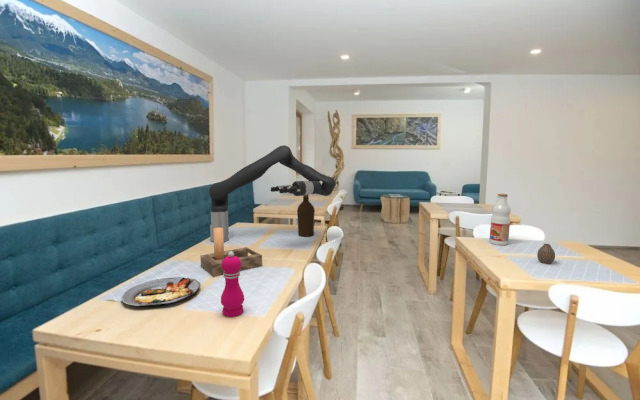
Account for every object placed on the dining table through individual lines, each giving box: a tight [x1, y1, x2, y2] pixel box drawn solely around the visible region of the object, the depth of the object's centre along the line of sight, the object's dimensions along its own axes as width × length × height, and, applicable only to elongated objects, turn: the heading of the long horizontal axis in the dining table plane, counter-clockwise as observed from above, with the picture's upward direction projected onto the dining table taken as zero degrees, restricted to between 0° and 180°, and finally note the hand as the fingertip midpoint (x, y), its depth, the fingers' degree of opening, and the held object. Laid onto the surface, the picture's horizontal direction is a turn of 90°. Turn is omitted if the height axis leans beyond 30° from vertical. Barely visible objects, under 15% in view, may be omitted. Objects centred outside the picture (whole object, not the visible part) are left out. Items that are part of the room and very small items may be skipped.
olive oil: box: [296, 195, 315, 238], centre depth 206 cm, size 11×11×25 cm
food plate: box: [120, 276, 201, 307], centre depth 120 cm, size 25×23×4 cm
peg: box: [213, 227, 225, 260], centre depth 146 cm, size 8×8×18 cm
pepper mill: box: [220, 251, 245, 318], centre depth 106 cm, size 7×7×20 cm
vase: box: [536, 243, 556, 265], centre depth 156 cm, size 7×7×9 cm
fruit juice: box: [489, 193, 512, 246], centre depth 188 cm, size 9×9×28 cm
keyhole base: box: [200, 246, 263, 278], centre depth 150 cm, size 22×16×5 cm
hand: (275, 190), depth 164 cm, fingers open, 8 cm apart
